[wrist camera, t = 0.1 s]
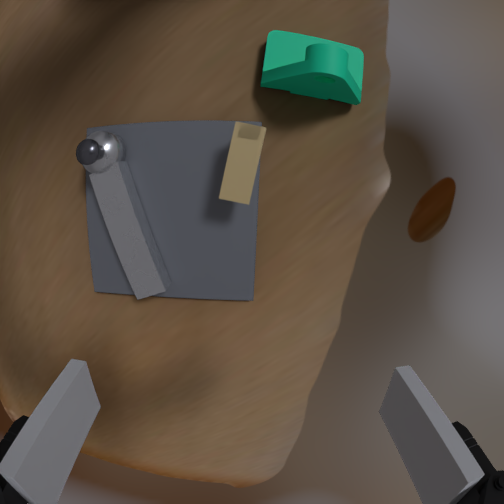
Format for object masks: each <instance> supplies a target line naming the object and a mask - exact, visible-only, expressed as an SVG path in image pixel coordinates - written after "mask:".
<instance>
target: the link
mask: <svg viewBox="0 0 504 504" xmlns="http://www.w3.org/2000/svg"><path fill="white" fill-rule="evenodd" d="M126 153H127V149H126V144H125V142H124V140H123V139H122V138H121V137H120V136H119V135H117V134H114V133H110V132H105V131H97V132H94V133H92V134H90V135H89V136H88V137H87V138H86V139H85V140H83V141H82V142H80V144H79V145H78V147H77V150H76V157H77V159H78V161H79V162H80V163H81V164H82V165H83V166H84V168H85V169H86V170H87V171H88V172H90V173H92V174H90V175H89V176H90V180H91V183H92V186H93V189H94V192H95V195H96V198H97V201H98V204H99V207H100V210H101V212H102V215H103V218H104V221H105V223H106V226H107V229H108V231H109V234H110V237H111V239H112V242H113V244H114V247H115V249H116V252H117V254H118V257H119V259H120V262H121V264H122V266H123V269H124V271H125V273H126V276H127V278H128V280H129V282H130V285H131V287H132V289H133V291H134V294H135V296H136V298H137V300H138V299H142V298H145V297H148V296H152V295H155V294H158V293H162V292H165V291H166V290H167V288H168V287H169V285H170V283H171V280H170V278H169V275H168V273H167V270H166V268H165V266H164V263H163V261H162V258H161V256H160V253H159V251H158V248H157V245H156V243H155V240H154V238H153V235H152V232H151V230H150V227H149V224H148V222H147V219H146V216H145V213H144V211H143V208H142V205H141V202H140V199H139V196H138V194H137V191H136V188H135V185H134V182H133V179H132V176H131V173H130V170H129V167H128V163H127V161H125V158H126Z"/></svg>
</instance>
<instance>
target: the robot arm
mask: <svg viewBox="0 0 504 504" xmlns="http://www.w3.org/2000/svg"><path fill="white" fill-rule="evenodd" d="M100 408H101V406H100V403H99V400H98V398H97V395H96V392H95V389H94V386H93V383H92V380H91V376H90V373H89V370H88V367H87V363H86V361H81V360H75V359H71V360H70V362H69V363H68V364H67V366H66V367H65V368H64V370H63V371H62V372H61V374H60V375H59V376H58V378H57V379H56V380H55V382H54V383H53V384H52V386H51V387H50V389H49V390H48V391H47V393H46V394H45V396H44V397H43V399H42V400H41V401H40V403H39V404H38V406H37V407H36V409H35V410H34V411H33V413H32V414H31V416H30V417H27V416H24V415H23V416H22V417H20V418H19V419H17V420H16V421H15V422H14V423H13V424H12V426H11V427H10V429H9V430H8V433H6V435H5V436H4V439H2V441H1V442H0V504H27V503H28V504H57V502H58V499H59V497H60V495H61V492H62V490H63V488H64V485H65V483H66V480H67V478H68V476H69V473H70V471H71V469H72V467H73V465H74V462H75V460H76V458H77V455H78V454H79V451H80V449H81V447H82V445H83V443H84V441H85V438H86V436H87V434H88V432H89V430H90V428H91V426H92V424H93V422H94V420H95V418H96V416H97V414H98V412H99V410H100ZM379 413H380V415H381V417H382V419H383V421H384V423H385V425H386V427H387V429H388V431H389V433H390V435H391V437H392V439H393V441H394V443H395V445H396V447H397V449H398V451H399V454H400V456H401V458H402V460H403V462H404V464H405V466H406V468H407V470H408V473H409V475H410V477H411V479H412V481H413V483H414V486H415V488H416V490H417V492H418V494H419V497H420V499H421V501H422V503H423V504H504V471H496V469H495V468H494V467H493V466H492V464H491V463H490V461H489V459H488V458H487V456H486V455H485V454H484V452H483V451H482V449H481V448H480V446H479V445H477V442H476V440H475V439H474V438H473V436H472V435H471V433H470V432H469V430H468V429H467V428H466V427H465V426H463V425H462V424H460V423H459V422H458V421H457V422H454V423H451V422H450V421H449V419H448V418H447V417H446V415H445V414H444V412H443V411H442V409H441V408H440V407H439V405H438V404H437V402H436V401H435V399H434V398H433V397H432V395H431V394H430V392H429V391H428V390H427V388H426V387H425V386H424V384H423V383H422V381H421V380H420V379H419V377H418V376H417V375H416V373H415V372H414V371H413V369H412V368H411V367H410V365H409V366H402V367H396V368H395V370H394V373H393V376H392V379H391V381H390V384H389V387H388V390H387V392H386V395H385V398H384V400H383V403H382V406H381V408H380V410H379Z"/></svg>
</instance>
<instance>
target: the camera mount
mask: <svg viewBox="0 0 504 504" xmlns="http://www.w3.org/2000/svg"><path fill="white" fill-rule="evenodd" d="M363 61H364V55H363V52H362V51H361V50H360V49H358V48H356V47H353V46H349V45H345V44H342V43H338V42H334V41H330V40H326V39H321V38H317V37H312V36H307V35H302V34H297V33H291V32H285V31H279V30H274V31H271V32H270V33H269V34H268V38H267V43H266V50H265V57H264V64H263V71H262V79H261V86H260V87H267V88H274V89H280V90H286V91H290V93H293V94H299V95H304V96H309V97H314V98H319V99H324V100H328V99H333V100H337V101H341V102H345V103H349V104H353V105H357V104H359V103H360V102H361V90H362V77H363Z"/></svg>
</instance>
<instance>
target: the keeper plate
mask: <svg viewBox="0 0 504 504" xmlns="http://www.w3.org/2000/svg"><path fill="white" fill-rule="evenodd" d="M97 131H105V132H110V133H114V134H117V135H119V136H120V137H121V138H122V139H123V140H124V142H125V144H126V149H127V153H126V158H125V161H127V163H128V167H129V170H130V173H131V176H132V179H133V182H134V185H135V188H136V191H137V194H138V196H139V199H140V202H141V205H142V208H143V211H144V213H145V216H146V219H147V222H148V224H149V227H150V230H151V232H152V235H153V238H154V240H155V243H156V245H157V248H158V251H159V253H160V256H161V258H162V261H163V263H164V266H165V268H166V270H167V273H168V275H169V278H170V280H171V283H170V285H169V287H168V288H167V290H166V291H165V292H162V293H158V294H155V295H152V296H160V297H177V298H197V299H220V300H252V301H253V296H254V276H255V256H256V235H257V214H258V192H259V171H260V154H261V149H262V145H263V141H264V136H265V132H266V128H265V127H262V122H249V121H166V122H147V123H133V124H121V125H111V126H102V127H94V128H87V137H88V136H89V135H90V134H92V133H94V132H97ZM90 174H92V173H90V172H88V171H87V170H86V204H87V223H88V237H89V248H90V258H91V267H92V275H93V283H94V290H95V292H105V293H118V294H131V295H135V294H134V291H133V289H132V287H131V285H130V282H129V280H128V278H127V276H126V273H125V271H124V269H123V266H122V264H121V262H120V259H119V257H118V254H117V252H116V249H115V247H114V244H113V242H112V239H111V237H110V234H109V231H108V229H107V226H106V223H105V221H104V218H103V215H102V212H101V210H100V207H99V204H98V201H97V198H96V195H95V192H94V189H93V186H92V183H91V180H90V176H89V175H90Z"/></svg>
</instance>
